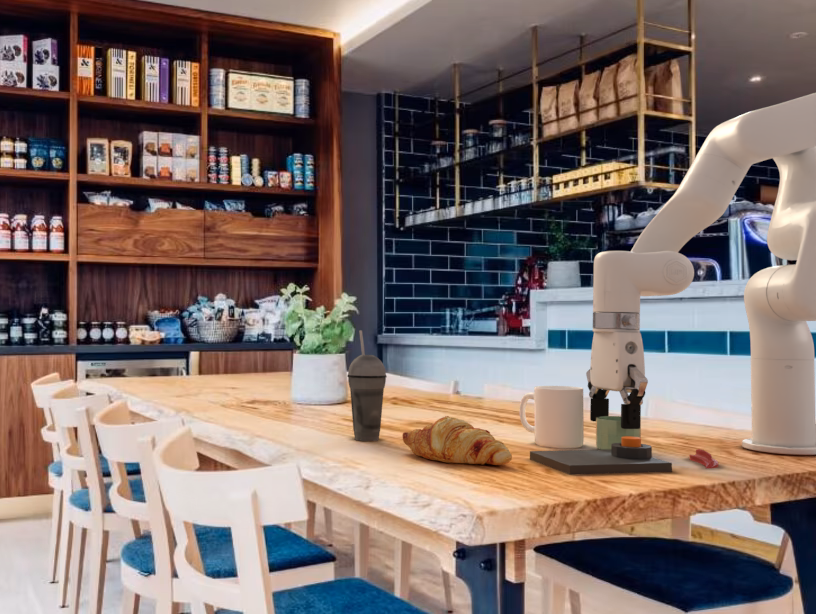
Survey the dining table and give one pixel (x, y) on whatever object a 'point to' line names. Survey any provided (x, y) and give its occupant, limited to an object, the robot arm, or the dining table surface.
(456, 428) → the croissant
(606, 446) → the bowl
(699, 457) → the cayenne pepper
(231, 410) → the dining table surface
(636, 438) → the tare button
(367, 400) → the beverage cup
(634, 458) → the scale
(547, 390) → the cup
